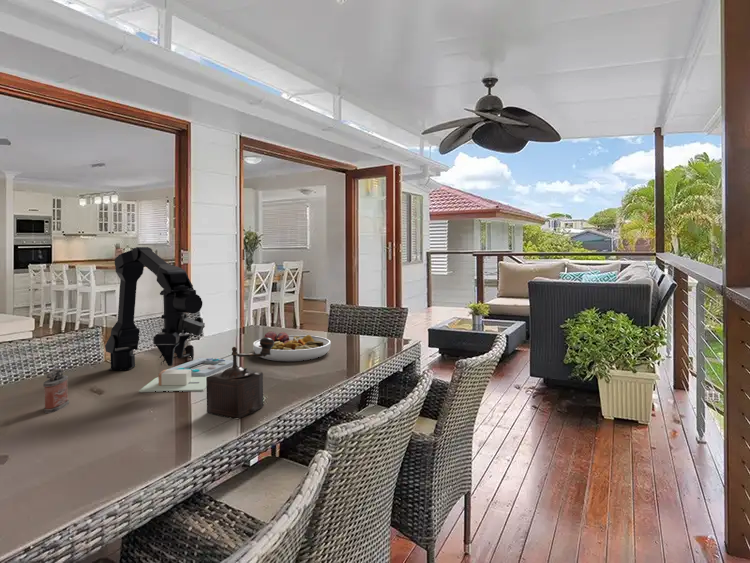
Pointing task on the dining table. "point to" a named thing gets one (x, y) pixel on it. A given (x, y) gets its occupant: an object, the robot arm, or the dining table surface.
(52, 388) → the lighter
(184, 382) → the block
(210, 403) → the manual coffee grinder
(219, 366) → the electronic device
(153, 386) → the mat
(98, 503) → the dining table surface
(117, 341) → the robot arm
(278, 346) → the bowl
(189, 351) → the sunglasses
